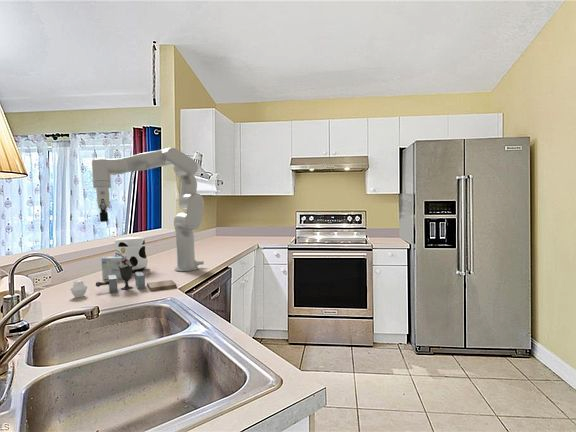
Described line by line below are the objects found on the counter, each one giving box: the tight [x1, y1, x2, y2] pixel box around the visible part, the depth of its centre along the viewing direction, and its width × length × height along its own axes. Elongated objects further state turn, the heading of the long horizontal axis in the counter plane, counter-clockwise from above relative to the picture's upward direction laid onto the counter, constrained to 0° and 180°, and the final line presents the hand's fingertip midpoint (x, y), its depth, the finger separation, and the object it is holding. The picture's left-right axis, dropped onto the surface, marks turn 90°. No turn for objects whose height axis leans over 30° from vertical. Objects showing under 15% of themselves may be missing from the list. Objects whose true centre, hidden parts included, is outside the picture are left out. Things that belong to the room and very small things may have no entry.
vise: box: [95, 271, 146, 294], centre depth 170 cm, size 20×10×6 cm, turn 117°
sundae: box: [118, 256, 134, 291], centre depth 171 cm, size 7×7×15 cm
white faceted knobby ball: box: [69, 279, 88, 299], centre depth 159 cm, size 6×6×7 cm
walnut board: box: [146, 279, 178, 292], centre depth 172 cm, size 11×11×2 cm
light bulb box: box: [101, 255, 127, 280], centre depth 196 cm, size 11×7×11 cm, turn 84°
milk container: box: [114, 236, 149, 272], centre depth 214 cm, size 17×17×18 cm
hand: (104, 221), depth 182 cm, fingers open, 9 cm apart
